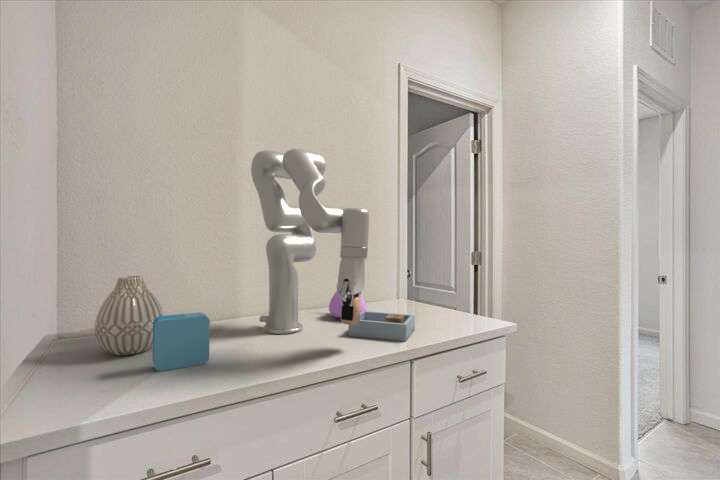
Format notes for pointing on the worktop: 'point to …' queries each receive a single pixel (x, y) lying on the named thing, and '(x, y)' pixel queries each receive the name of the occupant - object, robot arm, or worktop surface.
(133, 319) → the vase
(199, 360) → the data package
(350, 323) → the terracotta canister
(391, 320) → the wood cube
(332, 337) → the worktop surface
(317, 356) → the worktop surface
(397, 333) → the tote
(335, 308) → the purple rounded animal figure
